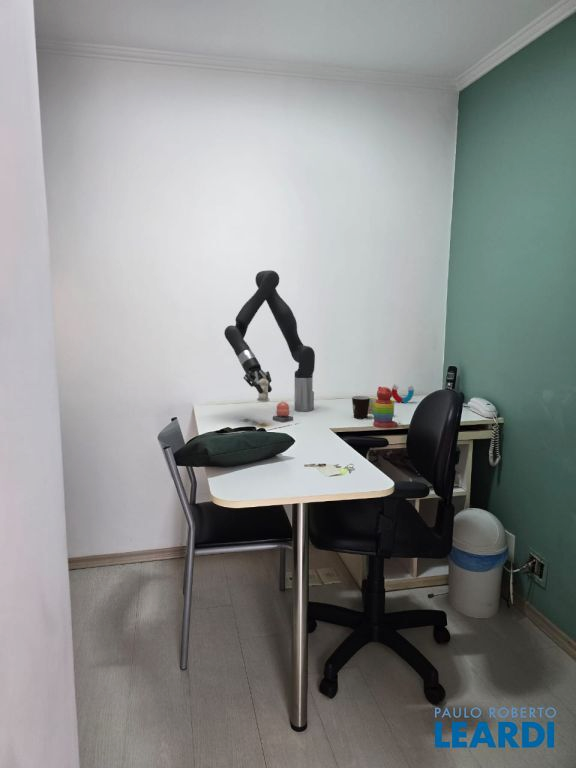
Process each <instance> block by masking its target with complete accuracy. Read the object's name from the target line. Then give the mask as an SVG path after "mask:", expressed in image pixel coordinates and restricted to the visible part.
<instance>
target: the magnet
mask: <svg viewBox="0 0 576 768" xmlns="http://www.w3.org/2000/svg"><path fill="white" fill-rule="evenodd" d="M398 389H399V386H398V385H397V384H395V383H393V386H392V388H391V391H392V398H393V400H394V401H395V402H397V403H399V402H404V403H403V404H406V403H408V402H410V401H411V400H412V399H413V396H414V392H415V391H414V386H413V384H410V385H409V386H407V391H408V392H407V394H406V396H400V395H399V393H398Z"/></svg>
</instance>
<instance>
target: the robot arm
mask: <svg viewBox="0 0 576 768" xmlns="http://www.w3.org/2000/svg"><path fill="white" fill-rule="evenodd" d="M255 284H256V286H257V290H256V291H255V292H254V294H253V295H252V296H251V297H250V298H249V299H248V300H247V301H246V302H245V303H244V304H243V306H242V307H241V309H240V310H239V312H238V314H237V315H236V317H235V319H234V320H235V325H228V326H227V327H225V329H224V337H225V338H226V340H227V342H228V343H229V346H231V347H232V349H233V352H234V354H235V355H236V357H237V359H238V361H239V364H240V365H241V367H242V369H243V371H244V372H245V374H244V375H243V379H244V380H245V382H246V383H247V384H248V385H249V386H250V387H251V388H253V387H254V388H255V389H256V391H257V392H258V394H259V393H260V394H262V392H263V389H262V387H261V386H260V384H259V380H260V379H266V380H267V381H268V393H271V392H272V390H273V388H272V386H271V385H270V384H271V382H272V378H271V375H270V371H268V370H267V371H266V372H265V371H264V370H263V369H262V365H261V364H260V362H259V360H258V359H257V357H256V355H255V353H254V352H253V351H252V349H251V347H250V346H249V344H248V343H247V342H246V341H245V339H244V338H245V336H246V334H247V331H248V327H249V325H250V324H251V322H252V320H253V319H254V317H255V316H256V315H257V312H258V311H259V309H260V308H261V307H262V306H263V304H264V302H266V303H267V305H268V307H269V309H270V312H271V313H272V315H273V317H274V320H275V322H276V324H277V326H278V328H279V330H280V331H281V333H282V336H283V338H284V340H285V342H286V343H287V344H286V345H287V347H288V350H289V352H290V354H291V358H292V360H294V361H295V362H296V363H298V368H297V370H295V371H294V411H295V412H300V413H302V412H303V413H306V412H311V411H314V409H315V408H314V407H315V401H314V400H315V391H313V390H314V389H313V388H314V386H313V383H314V382H313V381H314V379H313V377H314V371H315V366H316V365H315V364H316V363H315V362H316V354H315V351H314V348H312V347H311V346H309V345H304V344H303V342H302V340H301V338H300V335H299V333H298V323H297V319H296V317H295V315H294V312H293V311H292V309H291V307H290V306H289V305H288V304H287V302H286V301H285V300H284V299H283V298H282V297H281V296H280V295H279V292H278V290H277V287H278V286H279V284H280V275H279V274H278V273H277V272H276V271H275V270H272V269H271V270H269V269H267V270H261V271H259V272H257V273H256V275H255Z"/></svg>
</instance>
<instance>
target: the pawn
mask: <svg viewBox="0 0 576 768" xmlns="http://www.w3.org/2000/svg"><path fill="white" fill-rule="evenodd" d="M258 382H259V384H260V386H261V387H262V389H263V392H262V394H260V393H259V392H258V398H256V401H257V402H258V403H260V402H261V403H267V402H270V401H271V400H270V398H269V392H268V381H267V380H266V379H260V380H259V381H258Z"/></svg>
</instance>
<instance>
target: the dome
mask: <svg viewBox="0 0 576 768" xmlns="http://www.w3.org/2000/svg"><path fill="white" fill-rule="evenodd" d="M277 415H278V416H290V405H289V403H287V402H285V401H281V402H278V403H277V405H276V416H277Z"/></svg>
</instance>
